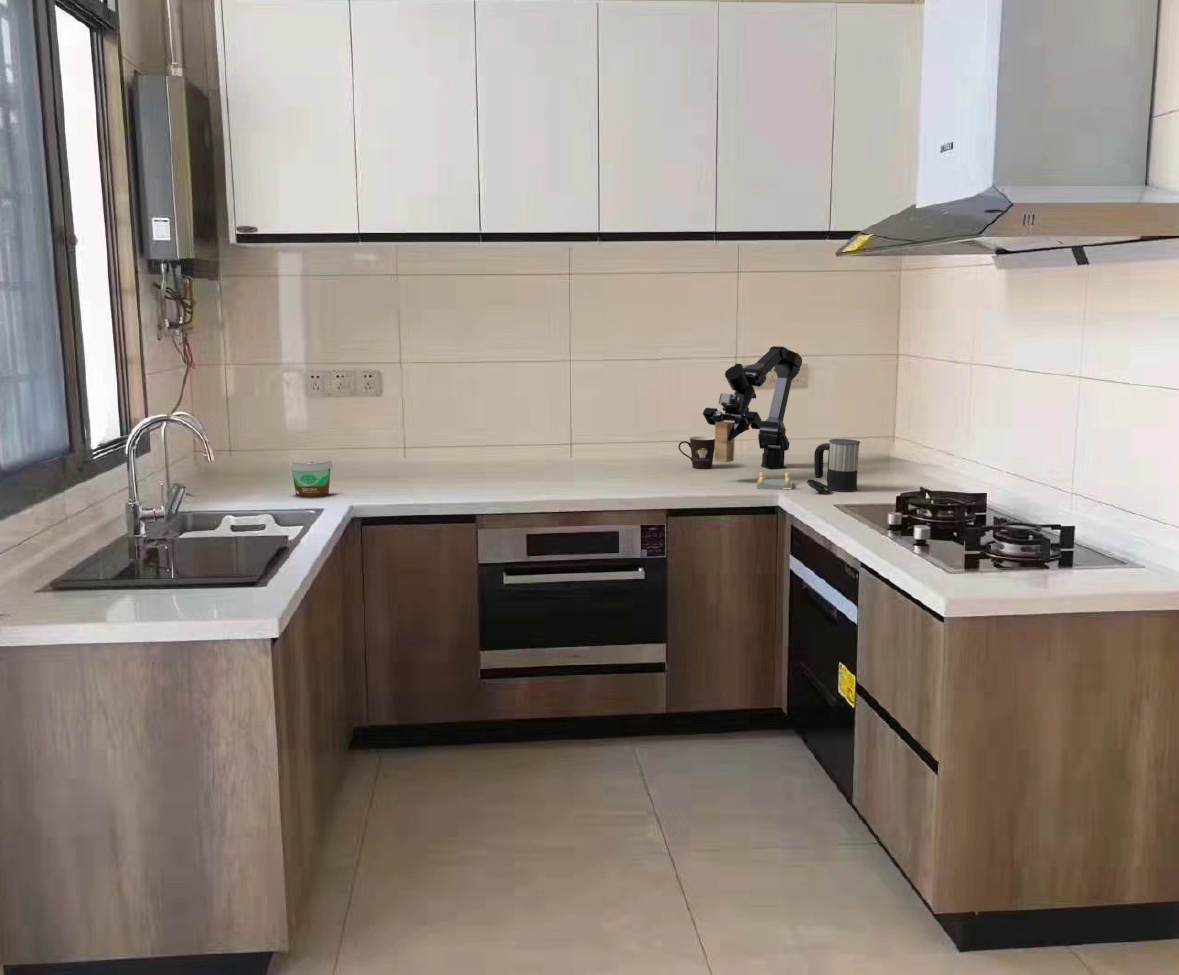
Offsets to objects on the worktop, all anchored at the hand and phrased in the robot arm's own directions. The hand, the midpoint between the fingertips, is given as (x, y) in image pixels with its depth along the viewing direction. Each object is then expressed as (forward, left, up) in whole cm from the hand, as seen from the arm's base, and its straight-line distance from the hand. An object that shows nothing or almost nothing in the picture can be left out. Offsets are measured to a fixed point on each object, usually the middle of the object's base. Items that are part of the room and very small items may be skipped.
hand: (722, 439), depth 347 cm
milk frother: (-26, +23, -14) cm, 37 cm away
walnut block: (-1, -1, -7) cm, 7 cm away
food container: (+122, -16, -14) cm, 124 cm away
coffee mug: (-5, -27, -14) cm, 31 cm away
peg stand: (-13, +11, -13) cm, 21 cm away
